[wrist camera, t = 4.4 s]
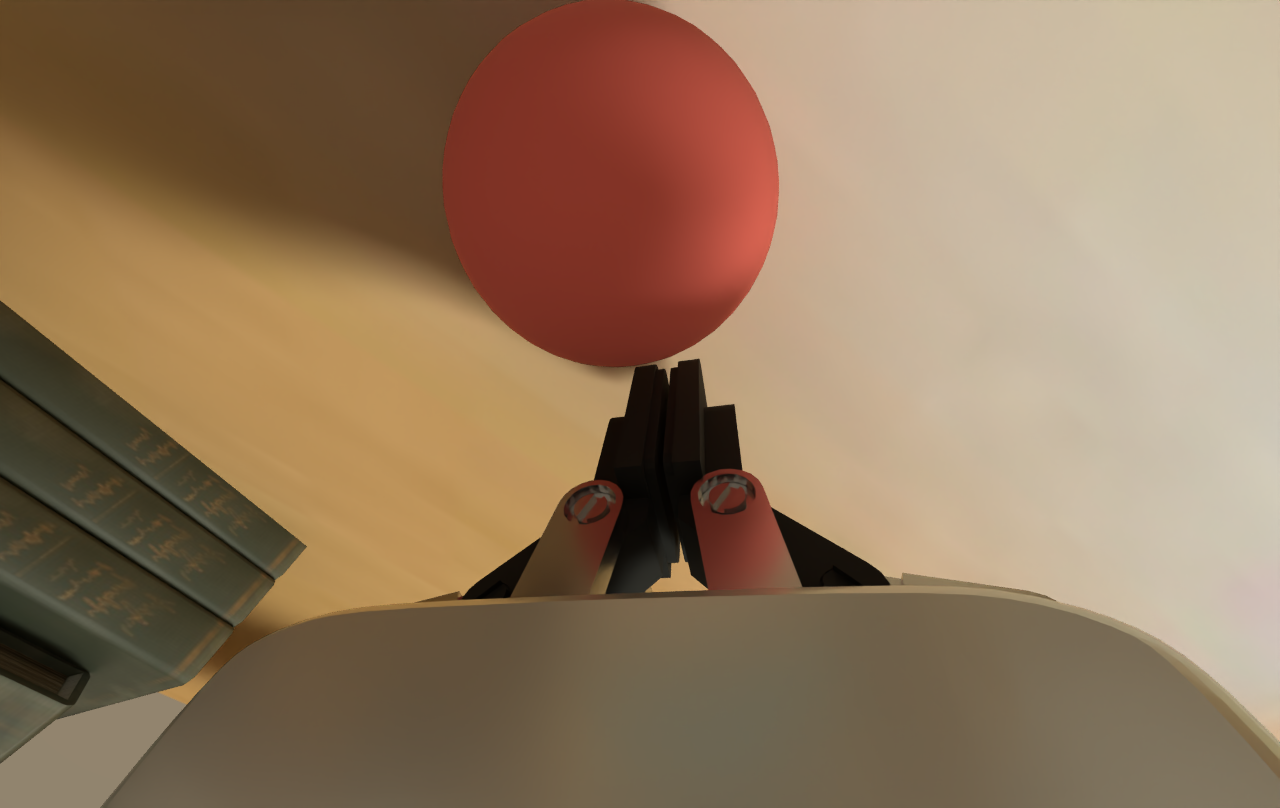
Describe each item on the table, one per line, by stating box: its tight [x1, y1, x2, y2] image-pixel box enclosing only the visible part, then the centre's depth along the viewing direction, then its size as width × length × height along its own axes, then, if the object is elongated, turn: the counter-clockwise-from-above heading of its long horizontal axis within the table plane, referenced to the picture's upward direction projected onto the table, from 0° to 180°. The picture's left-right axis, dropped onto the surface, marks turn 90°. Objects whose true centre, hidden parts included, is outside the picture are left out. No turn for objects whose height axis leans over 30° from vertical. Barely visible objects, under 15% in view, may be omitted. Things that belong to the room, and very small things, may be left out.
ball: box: [443, 0, 779, 367], centre depth 9 cm, size 6×6×6 cm
